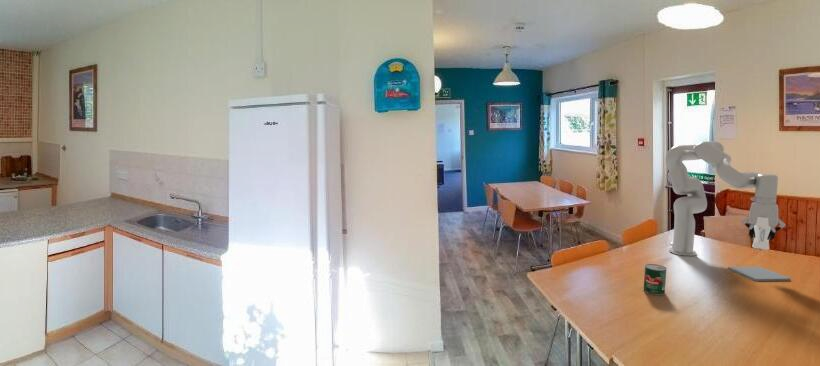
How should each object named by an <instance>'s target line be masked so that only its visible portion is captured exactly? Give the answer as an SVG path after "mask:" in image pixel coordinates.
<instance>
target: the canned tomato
mask: <svg viewBox="0 0 820 366" xmlns="http://www.w3.org/2000/svg"><path fill="white" fill-rule="evenodd" d="M666 280H667V267H666V266H664V265H661V264H656V263H648V264H645V265H644V279H643V289H644V290H643V292H644V291H646V292H648V293H651V294H650V295H652V294H655V295H654V296H663V295H665V294H666V292H665V291H666ZM646 292H645V293H646ZM648 293H647V294H648Z"/></svg>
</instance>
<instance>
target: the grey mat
mask: <svg viewBox="0 0 820 366" xmlns="http://www.w3.org/2000/svg"><path fill="white" fill-rule="evenodd" d="M727 270H729V271H730V272H733V273H734V274H735V273H736V274H738V275H740V276H742V277H745V278H746V279H747V278H748V279H749V280H752V281H754V282H776V281H777V282H783V281H785V282H787V281H791V279H792V278H790V277H787V276H785V275H783V274H779V273H778V272H775V271H773V270H769V269H767V268H764V267H763V266H728V267H727Z"/></svg>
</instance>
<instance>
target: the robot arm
mask: <svg viewBox="0 0 820 366" xmlns="http://www.w3.org/2000/svg"><path fill="white" fill-rule="evenodd" d="M724 150H725V149H724V146H723V145H722V143H721V142H719V141H715V140H714V141H713V140H711V141H701V142H698V143H697V144H681V145H674V146H673V147H671V148H670V149H669V150H668V151H667V152H666V154H665V158H664V159H665V163H666V164H665V165H666V167H667V169H668V173H669V177H670V183H671V187H672V190H673V192H674V193H675V194H676V195H681V196H682V195H687V196H682V197H679V198H676V199H675V201H674V202H673V205H672V206H673V214H674V221H673V222H674V223H673V225H674V227H673V238H672V242H670V244H669V245H670V246H671V247H670V248H669V250H668V251H669V253H671V252H672V254H674V255H677V256H686V257H693V256H696V255H697V252H696V250H694V242H695V234H696V233H695V232H696V219H695V217H694V214H699V213H703V212H705V211H706V210H707V207H708V199H707V197H706V192H705V188H704V185H703V181H701V180H700V179H699V178H697V177H695V176H689V173H688V169H687V167H686V165H685V164H684V162H683V161H698V160H703V161H704V162H706V163H707V164H708V165H709V166H711V167H712V168H714V169H715V171H716V173H717V175H718V177H719V178H720V179H721V180H722V181H724V183H727V185H729V186H731V187H732V188H734V189H735V188H736V189H737V190H738V189H740V190H741V189H742V190H744V189H752V188H753V189H754V196H753V197H750V198H749V200H750V201H753V202H751V204H750V207H749V208H750V209H749V215H748V216H746V217H744V218H742V219H741V222H742V223H743V224H744V226H746V227H747V228H748V230H749V232H748V236H749V237H750V239H754V233H753V225H756V223H757V219H758V217H764V218H768V223H769V226H770V227H772V232H771V235H770V238H769V241H771V242H772V241H773V240H775V237H776V232H778V231H779V230H781V229H783V228H785V227H786V225H787V224H786V223H785V222H783V220H781V219H780V218H779V206H778V204H776V203H777V195H778V183H779V177H778V175H776V174H771V173H759V172H754V171H753V172H749V171H748V172H747V171H746V172H740V171H738V170H737V169H736V168H734V167H732V166H731V164H730V163H731V161H732V156H730V155H729V154H727V153H726V152H724ZM747 221H748V222H747ZM778 224H779V225H778Z"/></svg>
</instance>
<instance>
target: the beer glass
mask: <svg viewBox="0 0 820 366" xmlns="http://www.w3.org/2000/svg"><path fill="white" fill-rule="evenodd" d="M771 232H772V227H770V226H769V223H768V218H764V217H758V219H757V223H756V225H753V233H754V234H753V242H752V248H753V249H757V250H770V243H769V242H770V236H771Z"/></svg>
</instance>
